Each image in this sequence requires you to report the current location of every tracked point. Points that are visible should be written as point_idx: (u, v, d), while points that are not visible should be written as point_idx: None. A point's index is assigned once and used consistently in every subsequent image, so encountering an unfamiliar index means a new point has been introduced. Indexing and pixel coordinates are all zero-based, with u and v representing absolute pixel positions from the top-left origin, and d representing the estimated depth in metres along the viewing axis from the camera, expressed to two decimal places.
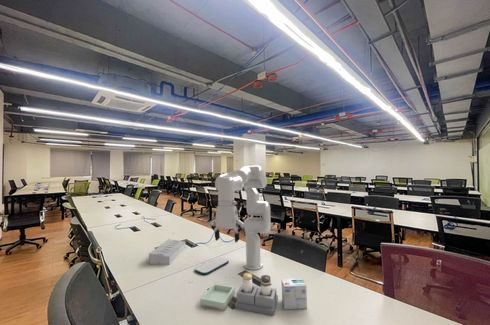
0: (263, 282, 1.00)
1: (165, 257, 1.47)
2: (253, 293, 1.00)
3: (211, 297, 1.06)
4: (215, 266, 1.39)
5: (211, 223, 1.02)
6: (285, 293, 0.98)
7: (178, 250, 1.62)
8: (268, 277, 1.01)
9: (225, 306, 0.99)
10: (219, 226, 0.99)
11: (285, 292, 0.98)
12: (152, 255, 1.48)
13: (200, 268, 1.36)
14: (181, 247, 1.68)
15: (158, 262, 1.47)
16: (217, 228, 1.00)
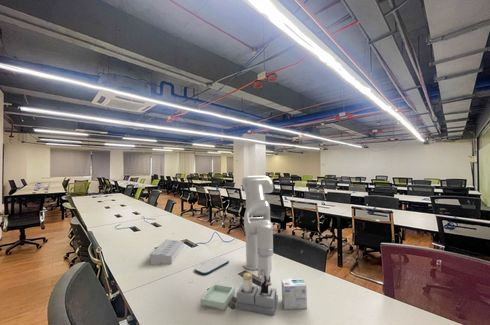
0: None
1: (167, 257, 1.47)
2: (253, 293, 1.00)
3: (211, 297, 1.06)
4: (215, 266, 1.39)
5: (264, 280, 0.96)
6: (285, 293, 0.98)
7: (178, 250, 1.63)
8: None
9: (225, 306, 0.99)
10: (268, 276, 0.98)
11: (285, 292, 0.98)
12: (154, 255, 1.47)
13: (200, 268, 1.36)
14: (180, 247, 1.69)
15: (160, 262, 1.47)
16: (267, 279, 0.99)
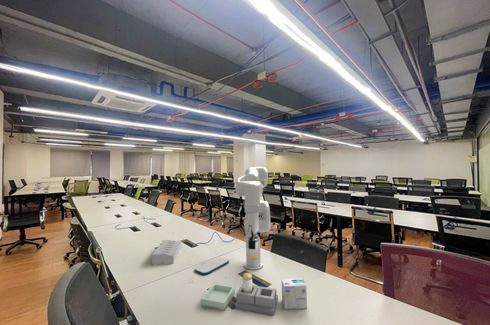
0: None
1: (169, 256, 1.48)
2: (253, 293, 1.00)
3: (211, 297, 1.06)
4: (215, 266, 1.39)
5: (251, 235, 0.97)
6: (285, 293, 0.98)
7: (177, 249, 1.64)
8: (255, 234, 1.03)
9: (225, 306, 0.99)
10: (255, 232, 1.00)
11: (285, 292, 0.98)
12: (155, 255, 1.47)
13: (200, 268, 1.36)
14: (179, 246, 1.69)
15: (161, 262, 1.47)
16: (254, 235, 1.00)
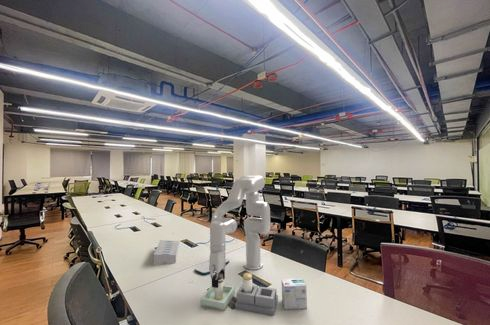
0: None
1: (171, 256, 1.48)
2: (253, 293, 1.00)
3: (211, 297, 1.06)
4: None
5: (213, 274, 1.00)
6: (285, 293, 0.98)
7: (177, 249, 1.64)
8: (221, 274, 1.06)
9: (225, 306, 0.99)
10: (219, 270, 1.03)
11: (285, 292, 0.98)
12: (157, 255, 1.47)
13: (200, 268, 1.36)
14: (178, 246, 1.70)
15: (163, 262, 1.47)
16: (217, 274, 1.03)
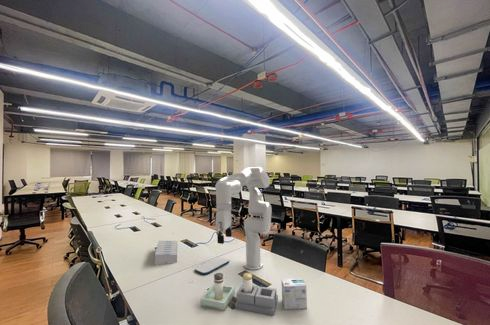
0: (215, 279, 1.05)
1: (172, 255, 1.49)
2: (253, 293, 1.00)
3: (211, 297, 1.06)
4: (215, 266, 1.39)
5: (219, 229, 1.02)
6: (285, 293, 0.98)
7: None
8: (221, 275, 1.06)
9: (225, 306, 0.99)
10: (226, 228, 1.06)
11: (285, 292, 0.98)
12: (158, 255, 1.46)
13: (200, 268, 1.36)
14: None
15: (165, 262, 1.47)
16: (223, 231, 1.05)
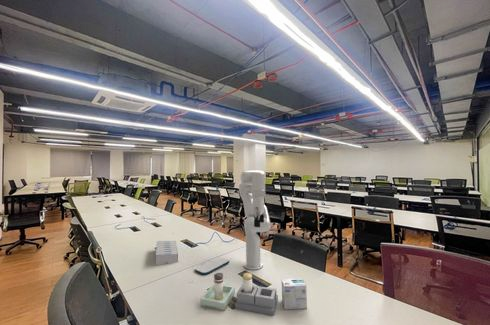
0: (215, 279, 1.05)
1: (173, 255, 1.50)
2: (253, 293, 1.00)
3: (211, 297, 1.06)
4: (215, 266, 1.39)
5: (256, 213, 1.12)
6: (285, 293, 0.98)
7: (176, 248, 1.65)
8: (221, 275, 1.06)
9: (225, 306, 0.99)
10: (261, 213, 1.16)
11: (285, 292, 0.98)
12: (159, 255, 1.46)
13: (200, 268, 1.36)
14: None
15: (166, 261, 1.48)
16: (259, 216, 1.15)
